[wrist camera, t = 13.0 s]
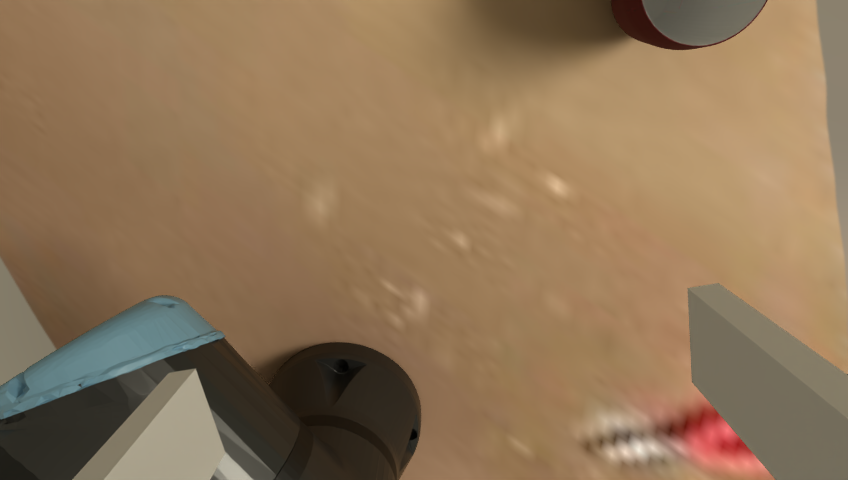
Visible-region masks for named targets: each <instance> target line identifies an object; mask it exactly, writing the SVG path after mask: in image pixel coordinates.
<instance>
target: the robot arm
mask: <svg viewBox="0 0 848 480" xmlns="http://www.w3.org/2000/svg"><path fill="white" fill-rule="evenodd" d="M688 307H689V328H690V349H691V370H692V383H693V384H694V385H695V386H696V387H697V388H698V390H699V391H700V392H701V393H702V394H703V395H704V397H705V398H706V399H707V400H708V401H709V402H710V404H711V405H712V406H713V407H714V408H715V409H716V410H717V412H718V413H719V414H720V415H721V416H722V417H723V419H724V420H725V421H726V422H727V423H728V424H729V426H730V427H731V428H732V429H733V430H734V431H735V433H736V434H737V435H738V436H739V437H740V438H741V440H742V441H743V442H744V443H745V444H746V445H747V447H748V448H749V449H750V450H751V451H752V452H753V454H754V455H755V456H756V457H757V458H758V459H759V461H760V462H761V463H762V464H763V465H764V466H765V468H766V469H767V470H768V471H769V472H770V473H771V475H772V476H773V477H774V478H775V479H776V480H848V374H846V373H844V372H843V371H841V370H840V369H839V368H837V367H836V366H834V365H833V364H832V363H830V362H829V361H827V360H826V359H825V358H823V357H822V356H820V355H819V354H818V353H816V352H815V351H813V350H812V349H810V348H809V347H808V346H806V345H805V344H803V343H802V342H801V341H799V340H798V339H796V338H795V337H794V336H792V335H791V334H789V333H788V332H787V331H785V330H784V329H782V328H781V327H779V326H778V325H777V324H775V323H774V322H772V321H771V320H770V319H768V318H767V317H765V316H764V315H763V314H761V313H760V312H758V311H757V310H756V309H754V308H753V307H751V306H750V305H749V304H747V303H746V302H744V301H743V300H741V299H740V298H739V297H737V296H736V295H734V294H733V293H732V292H730V291H729V290H727V289H726V288H725V287H723V286H722V285H720V284H719V283H716V284H710V285H704V286H698V287H692V288H688ZM224 337H225V335H224V334H223V332H221V331H217V330H216V329H215V328H213V327H212V326H211V325H210V324H209V323H208V322H207V321H206V320H205V319H204V318H203V317H202V316H200V315H199V314H198V313H197V312H196V311H195V310H194V309H193V308H192V307H191V306H190V305H189V304H188V303H187V302H185V301H184V300H182V299H180V298H178V297H174V296H168V295H161V296H155V297H151V298H149V299H146V300H144V301H142V302H140V303H138V304H136V305H134V306H132V307H130V308H128V309H127V310H125V311H123V312H121V313H119V314H117V315H116V316H114V317H112V318H110V319H109V320H107V321H105V322H103V323H102V324H100V325H98V326H96V327H95V328H93V329H91V330H89V331H88V332H86V333H84V334H83V335H81V336H79V337H78V338H76V339H74V340H72V341H71V342H69V343H67V344H66V345H64V346H63V347H61V348H59V349H58V350H56V351H54V352H53V353H51V354H49V355H48V356H46V357H44V358H43V359H41V360H40V361H38V362H37V363H35V364H33V365H32V366H30V367H29V368H27V369H26V371H24V372H22V373H20V374H18V375H17V376H16V377H14V378H12V379H11V380H10V381H8V382H6V383H5V384H3V385H1V386H0V480H399V479H400V477H401V475H402V473H403V472H404V470H405V468H406V466H407V465H408V463H409V461H410V459H411V458H412V456H413V454H414V452H415V450H416V447H417V444H418V440H419V436H420V428H421V406H420V400H419V396H418V393H417V391H416V388H415V386H414V384H413V383H412V381H411V379H410V378H409V376H408V375H407V374H406V373H405V371H404V370H403V369H402V368H401V367H400V366H399V365H398V364H396V363H395V362H394V361H393V360H391V359H390V358H389V357H387V356H385V355H384V354H382V353H380V352H378V351H376V350H373V349H371V348H368V347H365V346H361V345H357V344H351V343H328V344H322V345H317V346H314V347H311V348H308V349H306V350H304V351H302V352H300V353H298V354H296V355H295V356H293V357H292V358H290V359H289V360H288V361H287V362H286V363H284V365H283V366H282V367H281V368H280V369H279V370H278V371H277V373H276V374H275V376H274V378H273V379H272V381H271V383H270V385H268V384H267V383H266V382H265V381H264V380H263V379H262V378H261V377H260V376H259V375H258V374H257V373H256V372H255V371H254V370H253V369H252V368H251V366H250V365H249V364H248V363H247V362H246V361H245V360H244V359H243V358H242V357H241V356H240V355H239V354H238V353H237V351H236V350H235V349H234V348H233V347H232V346H231V345H230V344H229V343H228V342H227V341H226V339H225V338H224Z"/></svg>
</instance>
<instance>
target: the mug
mask: <svg viewBox="0 0 848 480" xmlns="http://www.w3.org/2000/svg"><path fill="white" fill-rule="evenodd" d="M766 2H767V0H611V4H612V11H613V14H614V17H615V19H616V21H617V23H618V25H619V26H620V27H621V29H622V30H623V31H624V32H625V33H626V34H628V35H629V36H631V37H632V38H634V39H636V40H639V41H641V42H644V43H648V44H651V45H654V46H657V47H661V48H665V49H671V50H689V49H697V48H702V47H707V46H712V45H716V44H719V43H721V42H724V41H726V40H728V39H730V38H732V37H734V36H735V35H737V34H738V33H740V32H741V31H743V30H744V29H745V28H746V27H747V26H748V25H750V23H751V22H752V21H753V20H754V19H755V18H756V17H757V16H758V14H759V13H760V12H761V10H762V9H763V7H764V6H765V4H766Z"/></svg>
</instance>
